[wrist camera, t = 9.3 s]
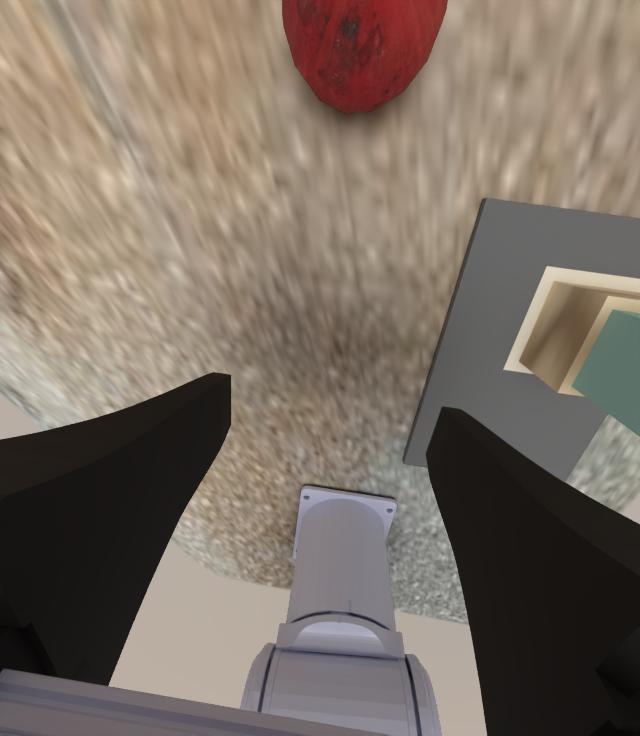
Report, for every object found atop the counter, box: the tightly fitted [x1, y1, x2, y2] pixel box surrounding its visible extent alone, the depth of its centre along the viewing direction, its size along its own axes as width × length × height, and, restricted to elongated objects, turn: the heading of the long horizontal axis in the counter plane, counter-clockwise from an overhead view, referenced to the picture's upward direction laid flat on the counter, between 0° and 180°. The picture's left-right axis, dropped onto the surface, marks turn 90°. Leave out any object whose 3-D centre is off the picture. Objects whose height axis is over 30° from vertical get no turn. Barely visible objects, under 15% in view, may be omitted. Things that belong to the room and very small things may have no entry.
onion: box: [282, 0, 448, 113], centre depth 11 cm, size 6×6×8 cm
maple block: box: [519, 281, 640, 397], centre depth 17 cm, size 5×5×4 cm
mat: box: [403, 198, 640, 482], centre depth 20 cm, size 18×12×1 cm, turn 173°
